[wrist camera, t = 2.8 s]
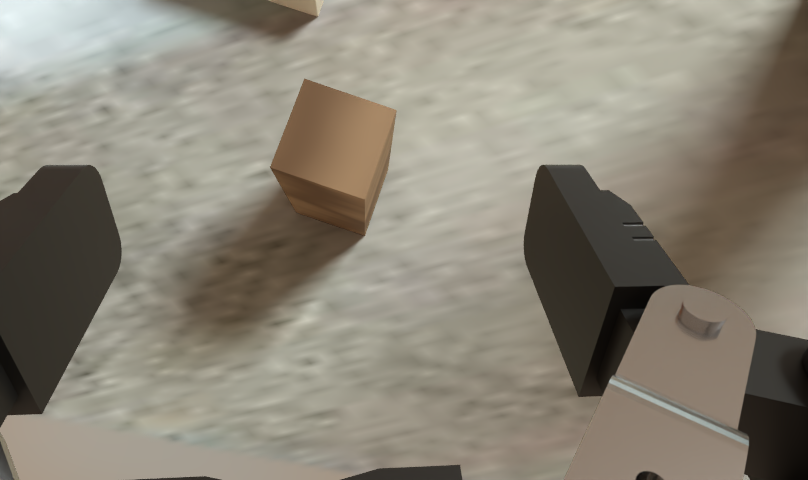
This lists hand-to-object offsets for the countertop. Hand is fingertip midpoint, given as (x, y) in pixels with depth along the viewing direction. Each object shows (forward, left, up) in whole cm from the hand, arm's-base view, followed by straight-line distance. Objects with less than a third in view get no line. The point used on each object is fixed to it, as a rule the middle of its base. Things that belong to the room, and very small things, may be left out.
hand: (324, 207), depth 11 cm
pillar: (+3, -6, -25) cm, 25 cm away
